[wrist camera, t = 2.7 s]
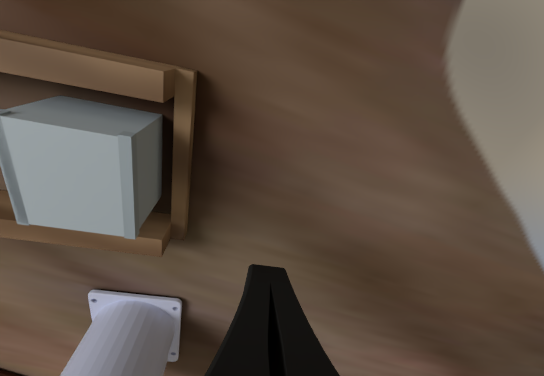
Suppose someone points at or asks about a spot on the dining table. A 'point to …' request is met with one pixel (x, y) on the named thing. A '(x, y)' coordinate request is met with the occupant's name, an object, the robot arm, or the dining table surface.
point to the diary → (7, 373)
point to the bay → (119, 80)
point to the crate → (81, 165)
